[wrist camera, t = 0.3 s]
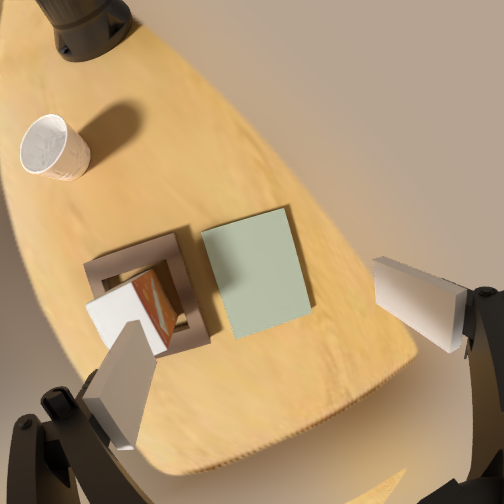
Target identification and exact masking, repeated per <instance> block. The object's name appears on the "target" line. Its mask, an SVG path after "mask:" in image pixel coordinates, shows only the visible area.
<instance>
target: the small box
mask: <svg viewBox="0 0 504 504" xmlns="http://www.w3.org/2000/svg"><path fill="white" fill-rule="evenodd" d="M85 307H86V309H87V311H88V313H89V315H90V317H91V319H92V321H93V323H94V325H95V327H96V329H97V330H98V332H99V335H100V337H101V338H102V340H103V342H104V343H105V345H106V347H107V348H108V349H109V350H110V349H111V347H112V345H113V344H114V342H115V340H116V339H117V337H118V336H119V334H120V332H121V331H122V329H123V327H124V326H125V324H126V323H127V322H129V321H134V320H139V319H140V322H141V325H142V327H143V330H144V333H145V335H146V338H147V340H148V343H149V345H150V347H151V350H152V352H153V355H157V354H159V353H161V352H163V351H166V350H168V346H169V343H170V340H171V337H172V334H173V330H174V327H175V324H176V321H177V318H178V315H177V314H176V312H175V310H174V309H173V307H172V305H171V303H170V301H169V299H168V297H167V296H166V294H165V292H164V290H163V288H162V286H161V284H160V282H159V280H158V277H157V275H156V273H155V271H154V269H153V268H151V269H149V270H147V271H145V272H143V273H141V274H139V275H137V276H135V277H133V278H131V279H129V280H127V281H125V282H123V283H121V284H119V285H117V286H115V287H114V288H112V289H110V290H109V291H107V292H105V293H104V294H102V295H100V296H99V297H97V298H95V299H94V300H92V301H90V302H89V303H87V304H85Z"/></svg>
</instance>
